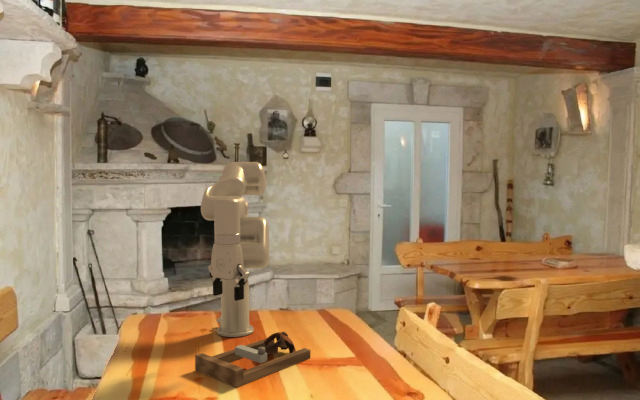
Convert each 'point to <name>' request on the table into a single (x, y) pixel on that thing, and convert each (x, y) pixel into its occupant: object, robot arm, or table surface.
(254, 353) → the gray rectangular bar
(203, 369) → the frame
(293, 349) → the pottery mug
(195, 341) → the table surface
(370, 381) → the table surface
